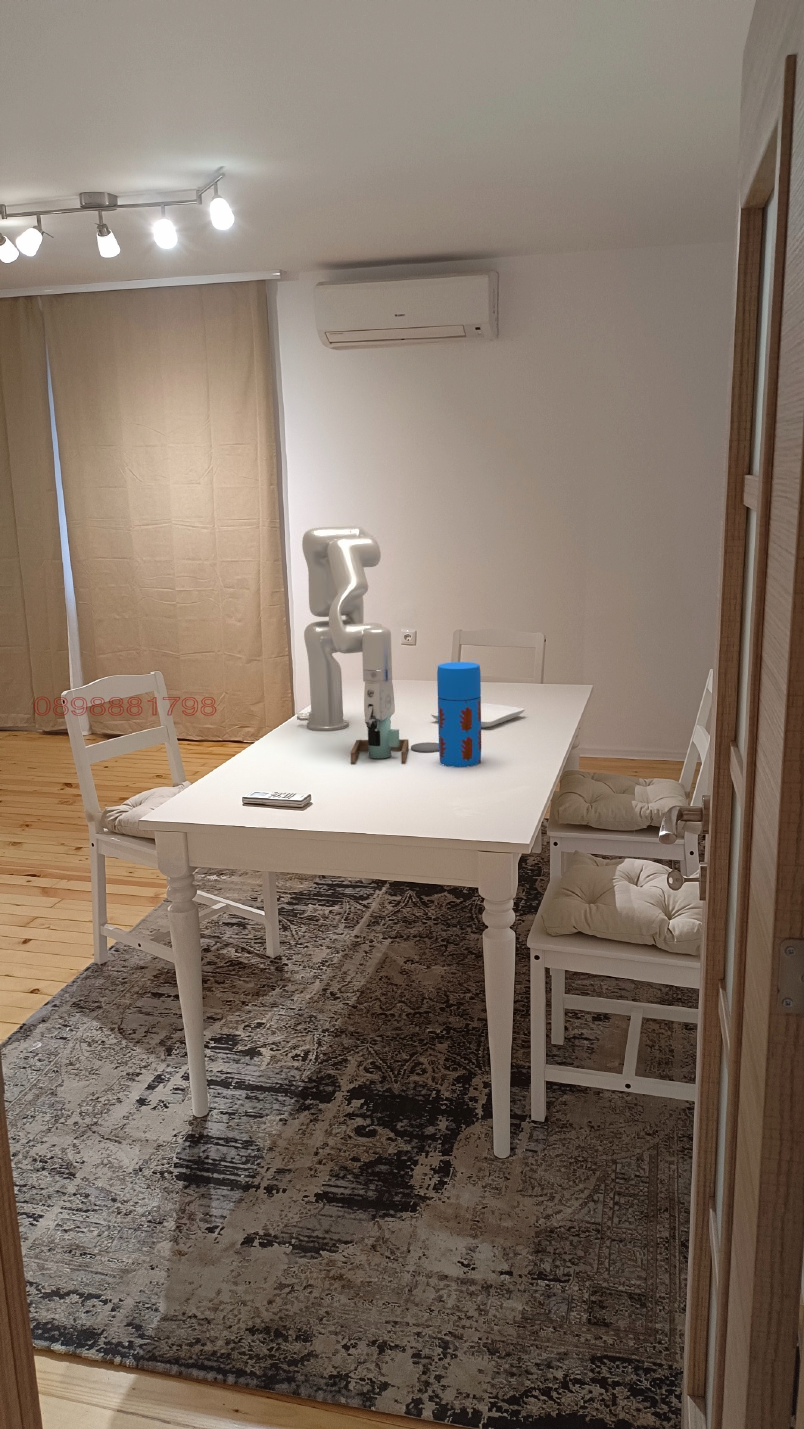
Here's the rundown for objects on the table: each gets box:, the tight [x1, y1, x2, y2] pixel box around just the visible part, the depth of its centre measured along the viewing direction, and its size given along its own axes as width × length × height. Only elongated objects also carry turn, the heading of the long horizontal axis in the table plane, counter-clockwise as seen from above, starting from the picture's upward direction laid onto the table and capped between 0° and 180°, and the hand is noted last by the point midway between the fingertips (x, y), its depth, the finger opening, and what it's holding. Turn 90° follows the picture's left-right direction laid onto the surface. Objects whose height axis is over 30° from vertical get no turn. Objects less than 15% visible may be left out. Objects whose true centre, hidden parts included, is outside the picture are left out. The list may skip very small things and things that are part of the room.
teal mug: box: [368, 715, 400, 759], centre depth 270 cm, size 8×6×11 cm
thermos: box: [436, 661, 482, 768], centre depth 261 cm, size 11×11×25 cm
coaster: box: [410, 741, 439, 754], centre depth 279 cm, size 9×9×1 cm
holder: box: [350, 738, 410, 765], centre depth 271 cm, size 14×14×3 cm
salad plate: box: [430, 702, 525, 729], centre depth 311 cm, size 21×21×3 cm
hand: (379, 742), depth 271 cm, fingers closed on teal mug, 6 cm apart
